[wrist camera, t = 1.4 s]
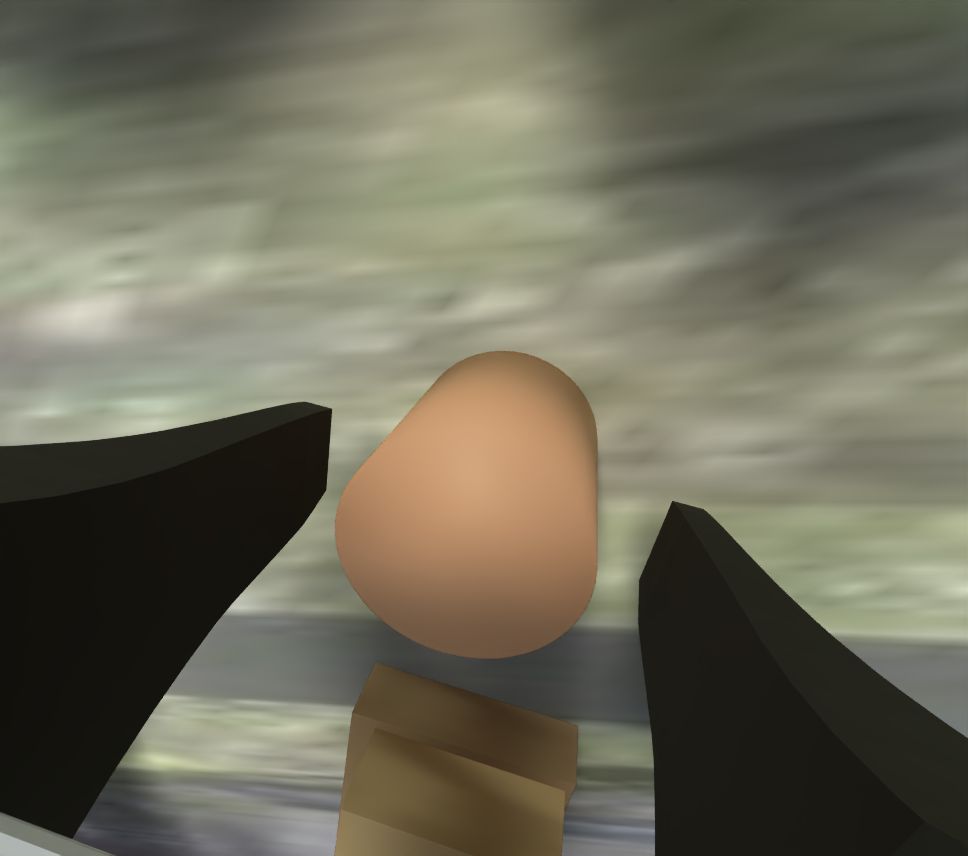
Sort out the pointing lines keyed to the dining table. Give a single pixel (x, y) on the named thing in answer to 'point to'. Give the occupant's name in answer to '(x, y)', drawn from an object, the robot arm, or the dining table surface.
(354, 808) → the oak top block
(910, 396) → the dining table surface
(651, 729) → the robot arm
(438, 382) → the terracotta cylinder
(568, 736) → the tan square slab
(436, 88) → the dining table surface
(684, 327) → the dining table surface
